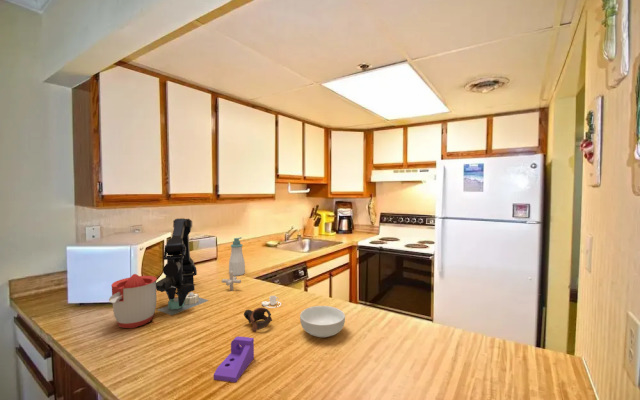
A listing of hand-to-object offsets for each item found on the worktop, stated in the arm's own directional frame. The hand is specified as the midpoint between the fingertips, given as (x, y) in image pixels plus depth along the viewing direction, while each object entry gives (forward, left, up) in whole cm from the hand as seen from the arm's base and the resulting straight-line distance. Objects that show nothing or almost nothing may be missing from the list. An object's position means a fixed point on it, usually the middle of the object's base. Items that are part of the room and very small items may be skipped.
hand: (176, 304), depth 131 cm
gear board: (0, +4, -3) cm, 5 cm away
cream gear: (0, +8, -2) cm, 8 cm away
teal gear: (0, 0, -1) cm, 1 cm away
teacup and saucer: (+30, +28, -3) cm, 41 cm away
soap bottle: (-18, +54, -3) cm, 57 cm away
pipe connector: (+2, +31, -3) cm, 31 cm away
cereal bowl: (+67, +16, -3) cm, 68 cm away
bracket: (+55, -17, -3) cm, 57 cm away
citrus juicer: (-3, -16, -3) cm, 17 cm away
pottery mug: (+42, +7, -3) cm, 42 cm away
